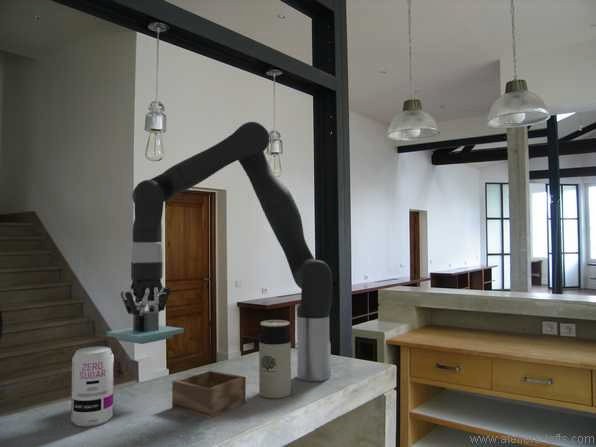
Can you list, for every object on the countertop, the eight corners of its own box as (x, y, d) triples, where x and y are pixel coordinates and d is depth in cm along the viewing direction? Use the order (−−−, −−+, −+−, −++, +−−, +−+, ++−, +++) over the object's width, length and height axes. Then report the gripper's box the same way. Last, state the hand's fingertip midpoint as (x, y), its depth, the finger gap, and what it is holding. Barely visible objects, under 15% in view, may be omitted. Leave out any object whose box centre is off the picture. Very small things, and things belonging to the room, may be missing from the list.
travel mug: (274, 387, 124) (274, 318, 125) (297, 393, 119) (297, 321, 120) (252, 394, 118) (252, 322, 119) (276, 401, 113) (275, 325, 114)
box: (209, 393, 119) (209, 369, 119) (245, 402, 112) (245, 377, 112) (172, 407, 109) (172, 381, 109) (209, 417, 102) (209, 389, 102)
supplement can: (100, 410, 107) (101, 344, 107) (120, 419, 102) (120, 349, 102) (64, 421, 101) (65, 350, 101) (82, 430, 95) (84, 356, 96)
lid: (150, 332, 126) (150, 307, 126) (183, 337, 118) (183, 310, 119) (106, 340, 115) (106, 313, 115) (140, 346, 108) (140, 316, 108)
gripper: (159, 259, 125) (159, 324, 125) (113, 261, 114) (111, 333, 113) (179, 260, 121) (178, 327, 120) (132, 261, 110) (131, 336, 109)
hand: (146, 329), depth 117 cm, fingers closed on lid, 3 cm apart
